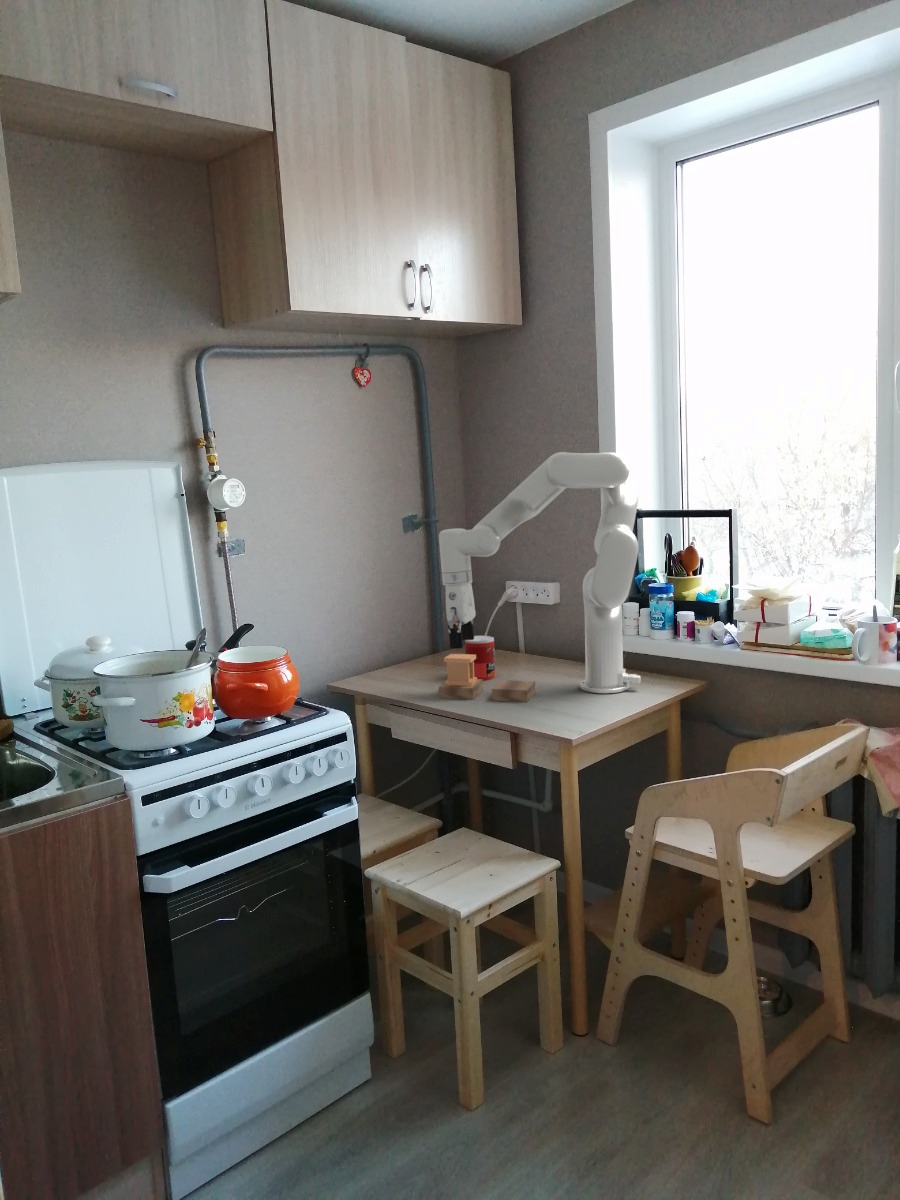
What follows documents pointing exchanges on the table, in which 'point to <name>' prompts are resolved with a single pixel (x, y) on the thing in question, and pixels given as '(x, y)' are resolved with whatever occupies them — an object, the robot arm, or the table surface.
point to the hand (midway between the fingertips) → (462, 643)
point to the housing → (460, 669)
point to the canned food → (482, 656)
